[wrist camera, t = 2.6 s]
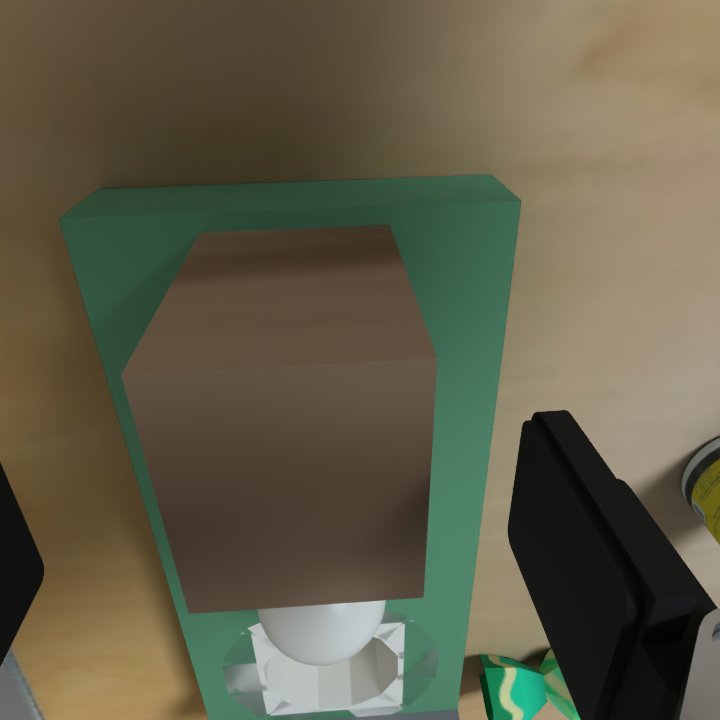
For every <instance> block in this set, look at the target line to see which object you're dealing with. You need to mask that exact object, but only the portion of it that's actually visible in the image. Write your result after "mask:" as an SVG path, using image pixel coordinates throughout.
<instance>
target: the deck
mask: <svg viewBox="0 0 720 720" xmlns="http://www.w3.org/2000/svg"><path fill="white" fill-rule="evenodd" d="M520 207H521V200H520V199H519V198H518V197H517V196H515V195H514V194H513V193H512V192H511V191H510V190H509V189H507V188H506V187H505V186H504V185H503V184H502V183H501V182H499V181H498V180H497V179H496V178H495V177H494V176H493V175H465V176H438V177H411V178H384V179H357V180H330V181H303V182H276V183H249V184H223V185H196V186H169V187H142V188H115V189H97V190H96V191H95V192H93V193H92V194H91V195H89V196H88V197H87V198H86V199H84V200H83V201H82V202H80V203H79V204H78V205H76V206H75V207H74V208H72V209H71V210H70V211H68V212H67V213H66V214H64V215H63V216H62V217H61V218H59V222H60V225H61V228H62V232H63V235H64V238H65V242H66V245H67V248H68V252H69V255H70V258H71V262H72V265H73V268H74V272H75V275H76V278H77V282H78V285H79V288H80V292H81V295H82V298H83V302H84V305H85V308H86V312H87V315H88V318H89V322H90V325H91V328H92V332H93V335H94V338H95V342H96V345H97V348H98V352H99V355H100V358H101V362H102V365H103V368H104V372H105V375H106V378H107V382H108V385H109V388H110V391H111V395H112V398H113V401H114V405H115V408H116V411H117V415H118V418H119V421H120V425H121V428H122V431H123V435H124V438H125V441H126V445H127V448H128V451H129V455H130V458H131V461H132V465H133V468H134V471H135V475H136V478H137V481H138V485H139V488H140V491H141V495H142V498H143V501H144V505H145V508H146V511H147V515H148V518H149V521H150V525H151V528H152V531H153V535H154V538H155V541H156V545H157V548H158V551H159V555H160V558H161V561H162V565H163V568H164V571H165V575H166V578H167V581H168V585H169V588H170V591H171V595H172V598H173V601H174V605H175V608H176V611H177V615H178V618H179V621H180V625H181V628H182V631H183V635H184V638H185V641H186V645H187V648H188V651H189V655H190V658H191V661H192V665H193V668H194V671H195V675H196V678H197V681H198V685H199V688H200V691H201V695H202V698H203V701H204V705H205V708H206V711H207V715H208V718H209V720H460V719H459V714H458V701H459V693H460V685H461V677H462V669H463V661H464V653H465V645H466V637H467V629H468V621H469V613H470V605H471V597H472V589H473V581H474V573H475V565H476V557H477V549H478V541H479V534H480V526H481V518H482V510H483V502H484V494H485V486H486V478H487V470H488V462H489V454H490V446H491V438H492V430H493V422H494V414H495V406H496V398H497V390H498V382H499V374H500V366H501V358H502V350H503V342H504V334H505V326H506V318H507V310H508V303H509V295H510V287H511V279H512V271H513V263H514V255H515V247H516V239H517V231H518V223H519V215H520ZM366 225H390V227H391V230H392V232H393V235H394V238H395V241H396V244H397V246H398V249H399V252H400V255H401V258H402V260H403V263H404V266H405V269H406V272H407V274H408V277H409V280H410V283H411V286H412V288H413V291H414V294H415V297H416V300H417V302H418V305H419V308H420V311H421V314H422V316H423V319H424V322H425V325H426V328H427V330H428V333H429V336H430V339H431V342H432V344H433V347H434V350H435V353H436V356H437V375H436V392H435V410H434V427H433V445H432V462H431V479H430V497H429V514H428V531H427V549H426V566H425V584H424V598H412V599H398V600H386V603H385V610H384V614H383V617H382V620H381V623H380V625H379V627H378V629H377V631H376V633H375V634H374V636H373V637H372V639H371V640H370V641H369V643H368V644H367V645H366V646H365V647H364V648H363V649H362V650H361V651H359V652H358V653H357V654H355V655H354V656H352V657H351V658H349V659H347V660H345V661H342V662H339V663H336V664H333V665H327V666H312V665H307V664H303V663H299V662H297V661H294V660H292V659H291V658H289V657H287V656H286V655H284V654H283V653H281V652H280V651H279V650H278V649H277V648H276V647H275V646H274V645H273V644H272V642H271V641H270V640H269V638H268V637H267V635H266V633H265V632H264V630H263V627H262V625H261V623H260V619H259V616H258V612H257V609H256V610H242V611H228V612H213V613H199V614H189V613H188V609H187V606H186V602H185V599H184V595H183V592H182V588H181V585H180V581H179V578H178V574H177V571H176V567H175V564H174V560H173V557H172V553H171V549H170V546H169V542H168V539H167V535H166V532H165V528H164V525H163V521H162V518H161V514H160V511H159V507H158V504H157V500H156V497H155V493H154V489H153V486H152V482H151V479H150V475H149V472H148V468H147V465H146V461H145V458H144V454H143V451H142V447H141V444H140V440H139V437H138V433H137V429H136V426H135V422H134V419H133V415H132V412H131V408H130V405H129V401H128V398H127V394H126V391H125V387H124V384H123V380H122V376H121V374H122V372H123V370H124V368H125V367H126V365H127V363H128V361H129V359H130V358H131V356H132V354H133V352H134V350H135V349H136V347H137V345H138V343H139V341H140V340H141V338H142V336H143V334H144V333H145V331H146V329H147V327H148V325H149V324H150V322H151V320H152V318H153V316H154V315H155V313H156V311H157V309H158V307H159V306H160V304H161V302H162V300H163V298H164V297H165V295H166V293H167V291H168V289H169V288H170V286H171V284H172V282H173V280H174V279H175V277H176V275H177V273H178V271H179V270H180V268H181V266H182V264H183V263H184V261H185V259H186V257H187V255H188V254H189V252H190V250H191V248H192V246H193V245H194V243H195V241H196V239H197V237H198V236H199V234H200V232H219V231H244V230H268V229H293V228H317V227H342V226H366Z"/></svg>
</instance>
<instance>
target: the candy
mask: <svg viewBox="0 0 720 720" xmlns="http://www.w3.org/2000/svg"><path fill="white" fill-rule="evenodd" d="M479 656H480V659H481V661H482V663H483V666H484V669H485V674H486V675H481V676H479V677H480V683H481V688H482V693H483V698H484V703H485V709H486V714H487V717H488V720H531V719H532V718H533V717H534V716H535V715H536V713H537V712H538V711H539V710H540V709H541V708H542V707H543V706H544V705H545V704H546V703H547V701H549V702H550V703H551V704H552V705H553V706H555V707H556V708H557V709H558V710H559V711H561V712H562V713H563V714H564V715H565V716H566V717H568V718H569V719H570V720H580V717H579V715H578V713H577V710H576V708H575V705H574V703H573V700H572V698H571V695H570V693H569V690H568V688H567V685H566V683H565V680H564V678H563V676H562V673H561V671H560V668H559V666H558V663H557V661H556V658H555V656H554V653H553V651H552V648H551V649H549V650H548V652H547V654H546V656H545V658H544V660H543V662H542V664H541V666H540V668H539V670H537V669H534V668H532V667H529V666H527V665H524V664H522V663H519V662H517V661H515V660H512V659H508V658H504V657H499V656H494V655H481V654H479Z"/></svg>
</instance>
